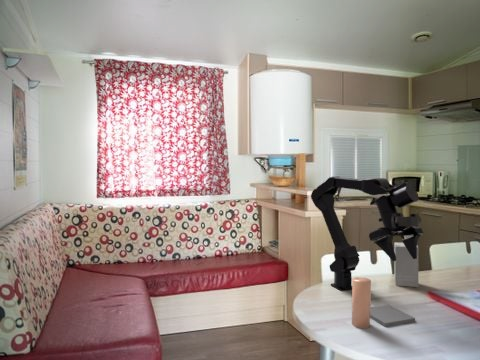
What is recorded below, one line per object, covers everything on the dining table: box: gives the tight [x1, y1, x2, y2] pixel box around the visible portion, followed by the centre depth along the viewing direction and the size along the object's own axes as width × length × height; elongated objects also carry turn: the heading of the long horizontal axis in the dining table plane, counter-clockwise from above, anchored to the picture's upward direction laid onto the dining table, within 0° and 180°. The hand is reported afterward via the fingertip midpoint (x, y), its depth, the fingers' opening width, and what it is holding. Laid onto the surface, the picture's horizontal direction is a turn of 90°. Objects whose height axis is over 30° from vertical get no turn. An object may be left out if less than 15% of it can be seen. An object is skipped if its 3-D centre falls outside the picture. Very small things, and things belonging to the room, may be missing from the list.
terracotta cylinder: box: [351, 276, 372, 329], centre depth 106 cm, size 5×5×13 cm
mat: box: [370, 304, 416, 328], centre depth 112 cm, size 11×11×1 cm
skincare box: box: [393, 242, 420, 288], centre depth 142 cm, size 8×7×16 cm
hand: (405, 259), depth 116 cm, fingers open, 9 cm apart
